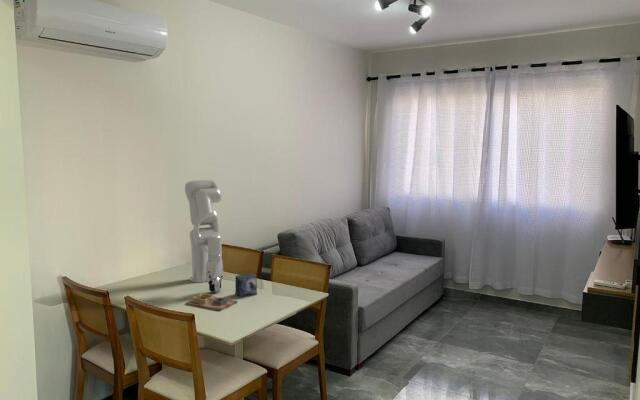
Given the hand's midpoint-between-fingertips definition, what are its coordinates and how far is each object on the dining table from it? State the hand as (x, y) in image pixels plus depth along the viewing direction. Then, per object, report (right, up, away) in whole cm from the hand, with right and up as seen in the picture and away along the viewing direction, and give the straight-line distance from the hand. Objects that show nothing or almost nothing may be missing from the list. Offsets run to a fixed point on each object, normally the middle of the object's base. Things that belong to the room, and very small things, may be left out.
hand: (215, 289), depth 268 cm
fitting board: (+2, -4, -19) cm, 19 cm away
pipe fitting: (0, -1, 0) cm, 2 cm away
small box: (+18, -3, -3) cm, 18 cm away
